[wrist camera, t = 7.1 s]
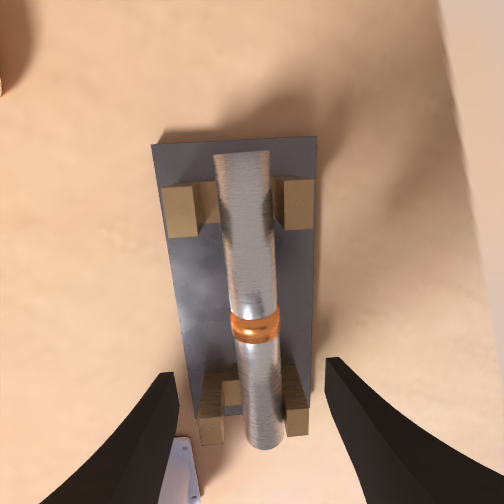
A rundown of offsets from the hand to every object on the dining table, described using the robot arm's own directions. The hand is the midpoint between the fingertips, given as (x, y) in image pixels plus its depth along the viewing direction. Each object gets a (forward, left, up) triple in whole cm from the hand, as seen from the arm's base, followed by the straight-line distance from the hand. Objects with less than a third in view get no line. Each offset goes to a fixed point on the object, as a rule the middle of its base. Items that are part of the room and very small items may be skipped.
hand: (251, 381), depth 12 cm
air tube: (0, 0, -6) cm, 6 cm away
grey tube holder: (0, 0, -9) cm, 9 cm away
